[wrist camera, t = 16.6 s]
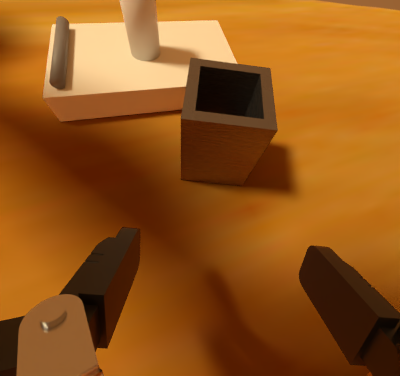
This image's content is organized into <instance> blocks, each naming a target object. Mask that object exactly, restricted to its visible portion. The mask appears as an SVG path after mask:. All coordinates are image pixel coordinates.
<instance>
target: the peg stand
mask: <svg viewBox="0 0 400 376" xmlns="http://www.w3.org/2000/svg"><path fill="white" fill-rule="evenodd" d="M120 4H121V9H122V13H123V18H124V22H125V23H89V24H69V22H68V20H67V19H65V18H64V17H61V16H59V17H57V20H56V24H52V30H51V37H50V45H49V53H48V60H47V68H46V75H45V83H44V90H43V99H44V101H45V102H46V103H47V105H48V106H49V107H50V109H51V110H52V111H53V113H54V114H55V115H56V116H57V118H58V119H59V120H60V122H63V121H73V120H82V119H92V118H102V117H112V116H122V115H132V114H142V113H152V112H162V111H172V110H182V108H183V102H184V96H185V89H186V83H187V77H188V70H189V64H190V58H198V59H205V60H213V61H220V62H228V63H235V64H237V62H236V60H235V58H234V55H233V53H232V51H231V49H230V47H229V45H228V42H227V40H226V38H225V36H224V34H223V32H222V29H221V27H220V25H219V23H218V21H217V20H212V21H171V22H157V11H156V0H120Z"/></svg>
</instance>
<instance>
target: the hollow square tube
mask: <svg viewBox="0 0 400 376" xmlns="http://www.w3.org/2000/svg"><path fill="white" fill-rule="evenodd" d="M276 132H277V122H276V113H275V105H274V96H273V88H272V79H271V70H270V68H265V67H257V66H250V65H242V64H235V63H228V62H220V61H213V60H205V59H198V58H190V64H189V70H188V77H187V83H186V89H185V96H184V102H183V108H182V115H181V180H190V181H200V182H209V183H218V184H227V185H237V186H242V185H243V184H244V182H245V180H246V179H247V177H248V176H249V174H250V173H251V171H252V170H253V168H254V166H255V165H256V163H257V162H258V160H259V159H260V157H261V155H262V154H263V152H264V151H265V149H266V148H267V146H268V144H269V143H270V141H271V140H272V138H273V137H274V135H275V134H276Z"/></svg>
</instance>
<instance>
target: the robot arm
mask: <svg viewBox="0 0 400 376" xmlns="http://www.w3.org/2000/svg"><path fill="white" fill-rule="evenodd" d="M139 261H140V229H137V228H126V227H122V228H121V230H120V231H119V233H118V234H117V236H116V237H115V238H110V237H108V238H107V239H105V240H103V241H102V242H100V243H99V244H98V245H97V246H96V247H95V249H94V250H93V251H92V252H91V255H89V256H88V258H87V259H86V260H85V262H84V263H83V264H82V265H81V267H80V268H79V269H78V271H77V272H76V273H75V275H74V276H73V277H72V279H71V280H70V281H69V282H68V284H67V285H66V286H65V288H64V289H63V290H62V292H61V293H60V294H59V295H57V296H54V297H51V298H48V299H46V300H44V301H42V302H41V303H39V304H38V305H36V306H35V307H34V308H32V309H31V310H30V311H29V312H28V313H27V314H26V316H22V317H18V318H13V319H8V320H3V321H0V376H104V375H103V372H102V370H101V369H100V368H99V365H98V362H97V358H96V354H95V352H96V349H97V348H108V345H109V343H110V340H111V338H112V335H113V332H114V330H115V327H116V325H117V322H118V319H119V317H120V314H121V312H122V309H123V306H124V304H125V301H126V299H127V296H128V293H129V291H130V288H131V286H132V283H133V280H134V278H135V275H136V273H137V270H138V266H139ZM299 279H300V283H301V285H302V287H303V288H304V290H305V292H306V293H307V295H308V297H309V298H310V300H311V301H312V303H313V305H314V306H315V308H316V310H317V311H318V313H319V314H320V316H321V318H322V319H323V321H324V323H325V324H326V326H327V327H328V329H329V331H330V332H331V334H332V336H333V337H334V339H335V340H336V342H337V344H338V345H339V347H340V349H341V350H342V352H343V354H344V355H345V357H346V358H347V360H348V362H349V363H350V365H363V366H367V368H368V369H369V373H368V374H367V376H400V313H399V312H398V311H397V310H396V309H395V308H394V307H393V306H392V305H391V304H390V303H389V302H388V301H387V300H386V299H385V298H384V297H383V296H382V295H380V294H379V293H378V292H377V291H376V290H375V289H374V288H373V287H371V285H370V284H369V283H368V282H367V281H366V280H365V279H363V277H362V276H361V275H360V274H359V273H358V272H357V271H356V270H355V269H354V268H353V267H351V266H350V265H348V264H347V263H345V262H344V261H343V260H342V259H341V258H340V257H339V256H338V255H337V254H336V253H335V252H334V251H333V250H332V249H330V248H329V247H323V246H310V247H309V248H308V249H307V252H306V255H305V257H304V260H303V263H302V266H301V268H300V271H299Z"/></svg>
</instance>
